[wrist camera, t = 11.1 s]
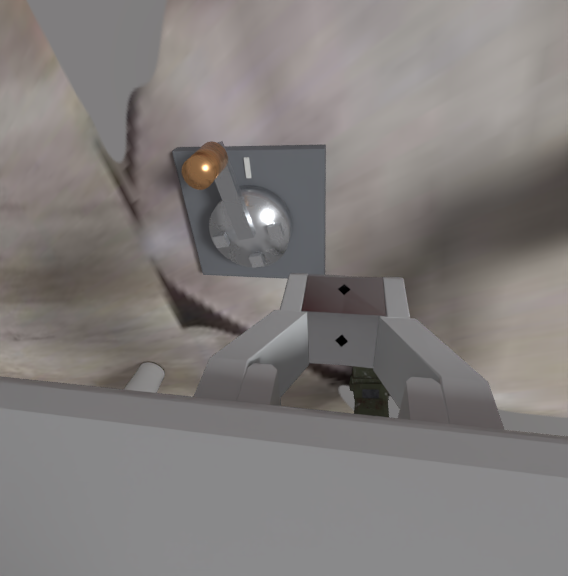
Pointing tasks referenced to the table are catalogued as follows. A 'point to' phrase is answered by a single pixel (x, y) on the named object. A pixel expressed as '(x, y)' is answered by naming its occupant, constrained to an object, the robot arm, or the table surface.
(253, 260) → the lever
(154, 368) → the drinking glass
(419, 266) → the table surface
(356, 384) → the mechanical leg
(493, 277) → the table surface
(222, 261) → the housing plate
